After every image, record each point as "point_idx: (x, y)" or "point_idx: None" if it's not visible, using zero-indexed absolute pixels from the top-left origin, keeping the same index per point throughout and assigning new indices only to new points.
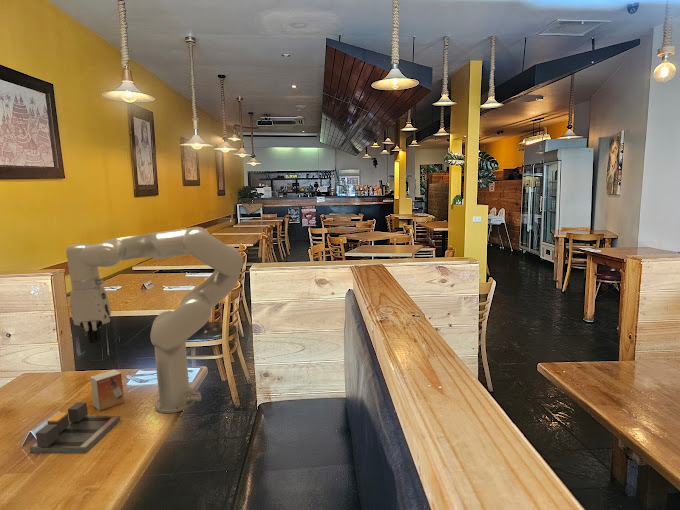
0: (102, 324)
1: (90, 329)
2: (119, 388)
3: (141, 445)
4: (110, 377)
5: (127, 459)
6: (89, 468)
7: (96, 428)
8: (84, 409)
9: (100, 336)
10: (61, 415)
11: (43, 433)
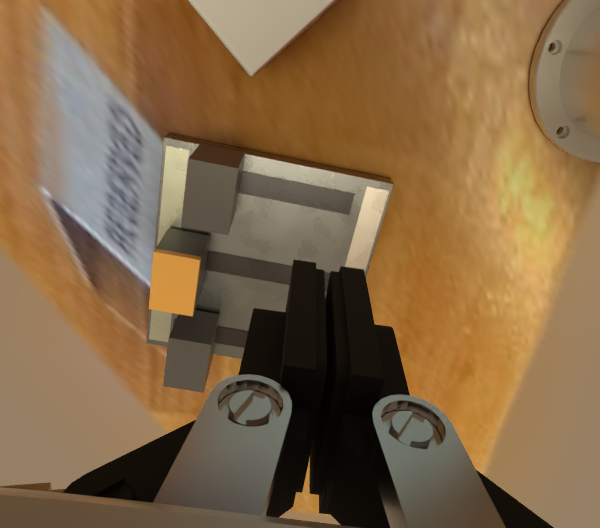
0: (516, 509)
1: (290, 497)
2: None
3: (498, 352)
4: (322, 14)
5: (467, 407)
6: None
7: (327, 265)
8: (238, 179)
9: (392, 335)
10: (185, 278)
11: (194, 390)
